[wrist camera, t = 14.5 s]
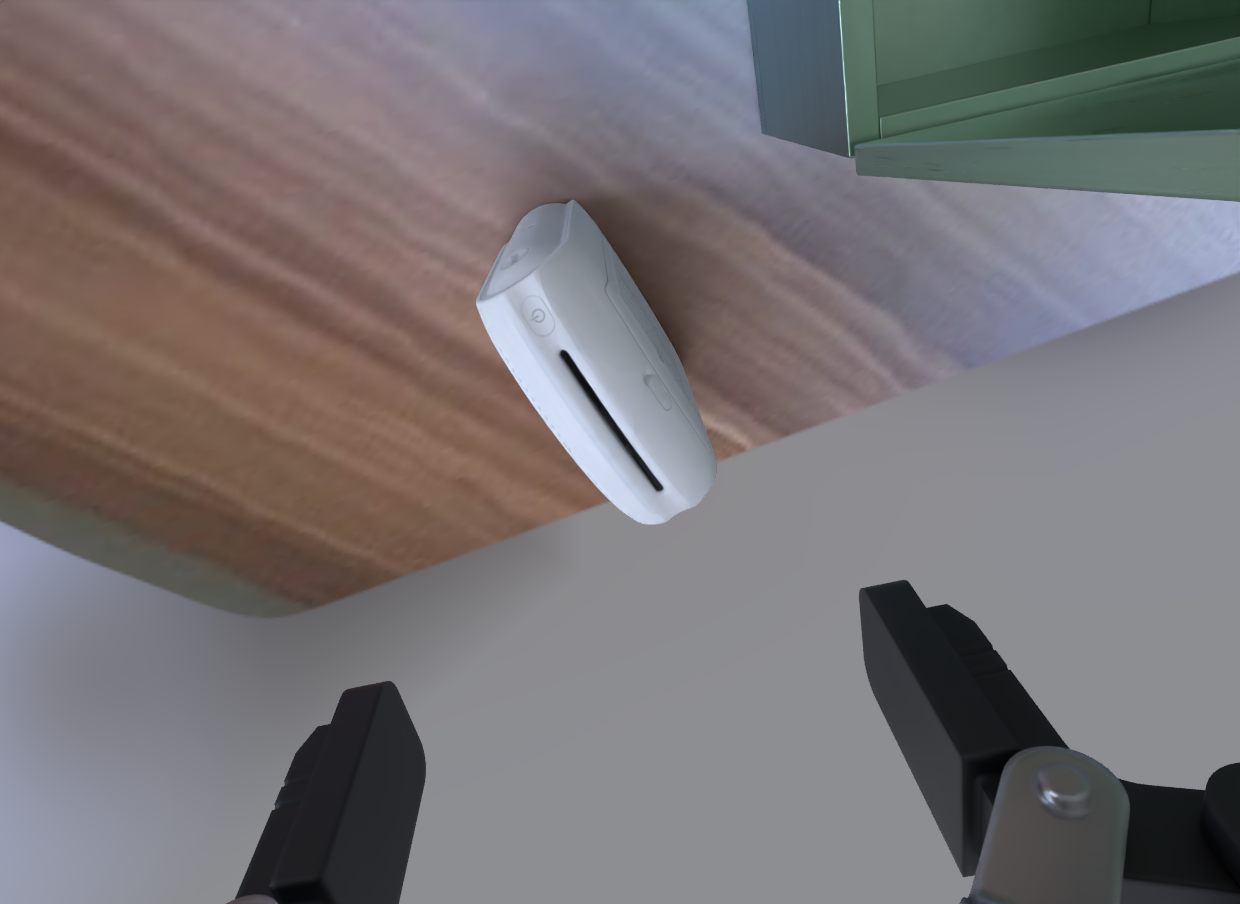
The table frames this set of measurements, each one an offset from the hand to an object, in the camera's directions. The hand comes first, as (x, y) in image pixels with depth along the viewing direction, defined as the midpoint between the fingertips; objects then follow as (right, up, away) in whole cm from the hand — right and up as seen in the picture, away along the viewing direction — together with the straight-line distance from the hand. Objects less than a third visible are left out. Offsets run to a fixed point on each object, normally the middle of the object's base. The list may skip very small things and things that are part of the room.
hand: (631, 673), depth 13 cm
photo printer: (-1, +10, +21) cm, 23 cm away
